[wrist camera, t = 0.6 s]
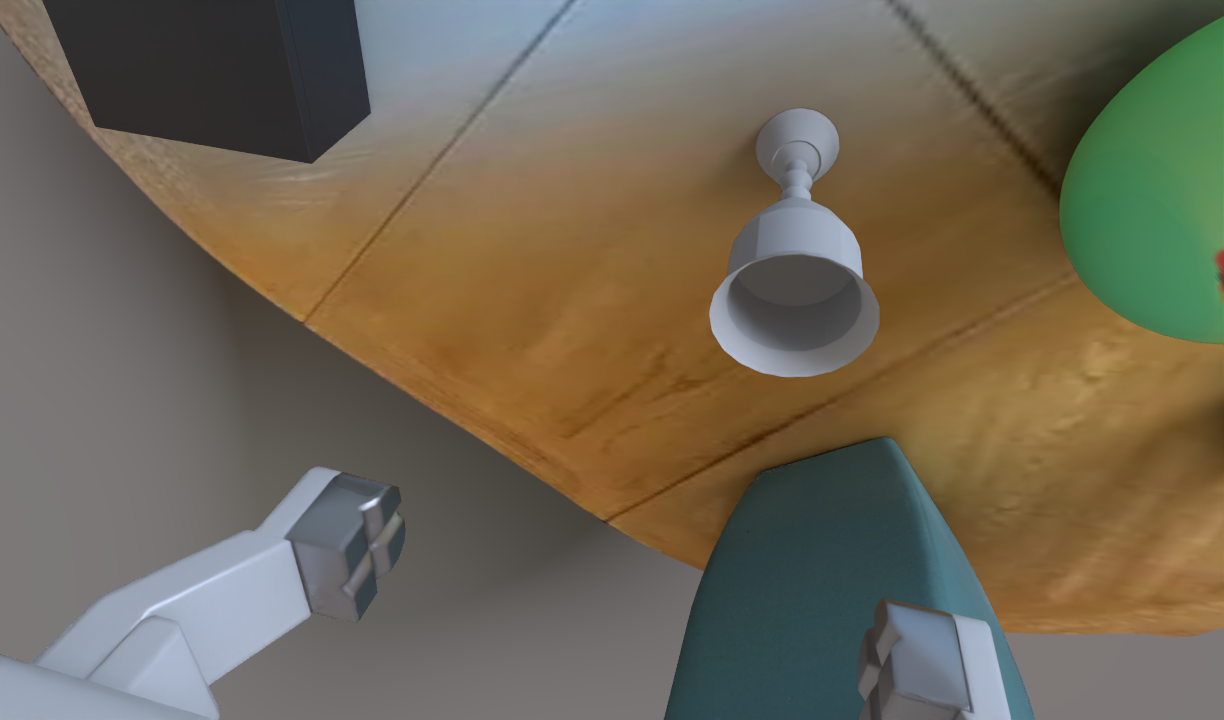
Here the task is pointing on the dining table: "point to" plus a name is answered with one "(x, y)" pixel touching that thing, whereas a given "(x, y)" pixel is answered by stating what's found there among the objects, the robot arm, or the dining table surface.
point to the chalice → (795, 266)
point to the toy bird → (1156, 195)
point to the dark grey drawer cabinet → (219, 70)
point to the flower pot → (820, 589)
